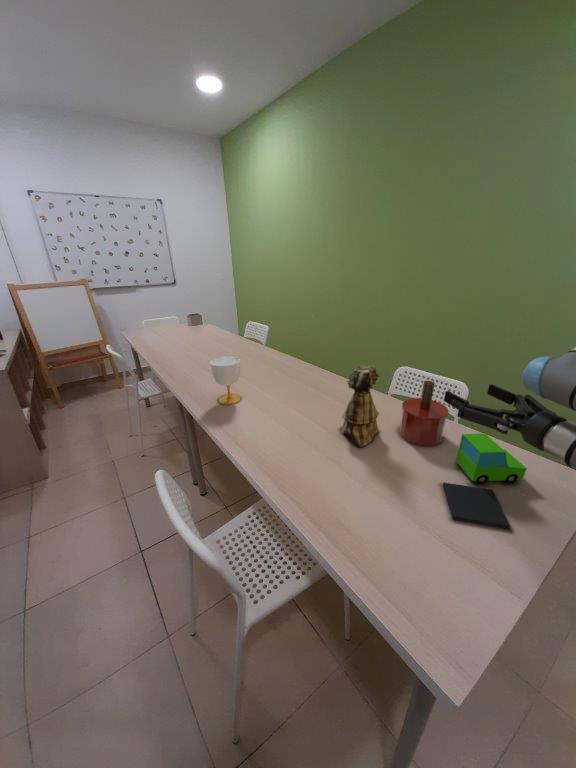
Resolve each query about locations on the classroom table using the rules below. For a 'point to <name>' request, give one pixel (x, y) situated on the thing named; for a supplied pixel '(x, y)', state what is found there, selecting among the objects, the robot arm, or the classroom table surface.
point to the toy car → (487, 460)
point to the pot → (421, 430)
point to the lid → (425, 405)
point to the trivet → (475, 505)
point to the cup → (226, 376)
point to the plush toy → (361, 407)
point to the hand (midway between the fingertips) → (468, 392)
